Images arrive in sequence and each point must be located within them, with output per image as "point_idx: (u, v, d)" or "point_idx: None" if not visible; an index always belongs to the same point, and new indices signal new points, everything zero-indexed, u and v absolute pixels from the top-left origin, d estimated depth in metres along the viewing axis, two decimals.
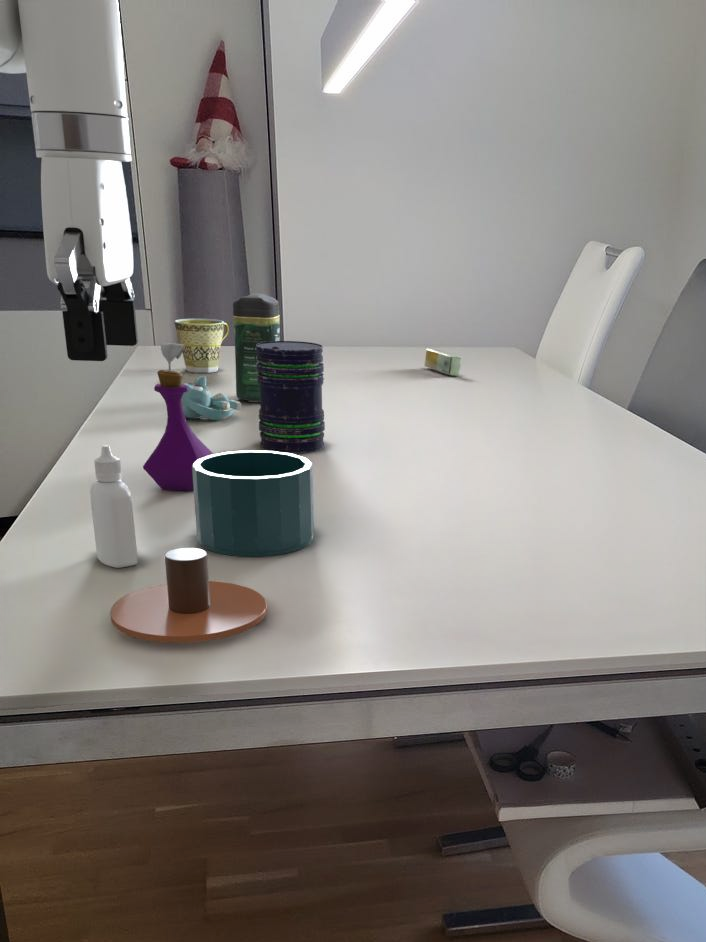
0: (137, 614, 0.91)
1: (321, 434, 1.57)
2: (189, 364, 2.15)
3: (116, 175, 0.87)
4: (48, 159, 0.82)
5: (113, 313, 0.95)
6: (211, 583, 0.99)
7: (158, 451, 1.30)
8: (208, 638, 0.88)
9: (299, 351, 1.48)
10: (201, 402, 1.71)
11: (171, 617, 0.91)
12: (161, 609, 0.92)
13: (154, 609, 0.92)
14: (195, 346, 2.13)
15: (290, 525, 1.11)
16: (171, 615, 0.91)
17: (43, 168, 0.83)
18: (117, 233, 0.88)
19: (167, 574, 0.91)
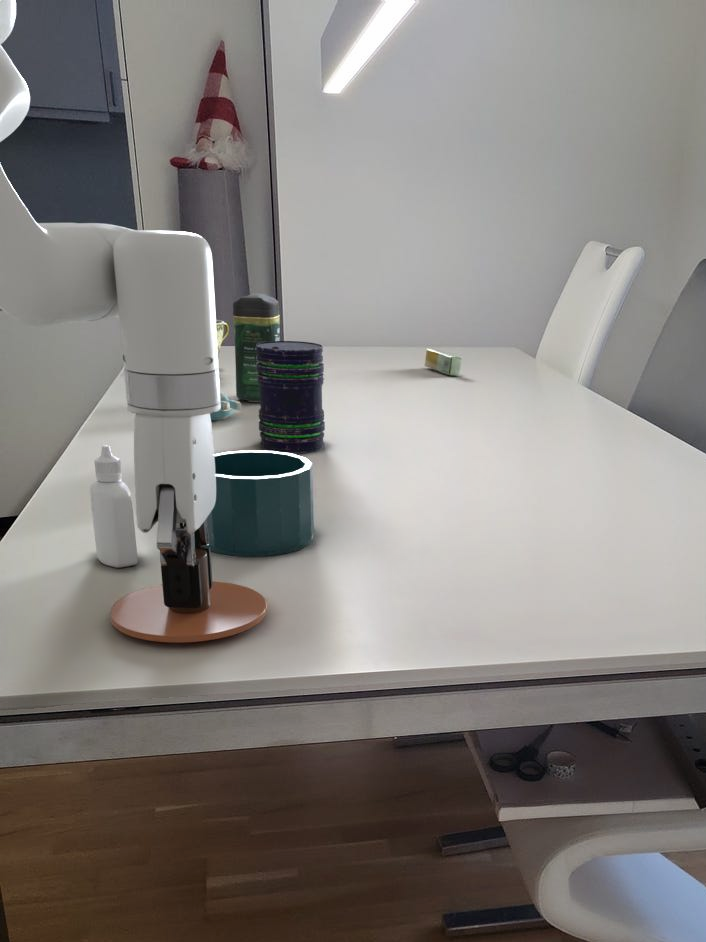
0: (137, 614, 0.91)
1: (321, 434, 1.57)
2: None
3: (206, 422, 0.86)
4: (142, 419, 0.82)
5: None
6: None
7: None
8: (208, 638, 0.88)
9: (299, 351, 1.48)
10: None
11: (171, 617, 0.91)
12: (161, 609, 0.92)
13: (154, 609, 0.92)
14: None
15: (290, 525, 1.11)
16: (171, 615, 0.91)
17: (137, 427, 0.82)
18: (205, 478, 0.87)
19: None
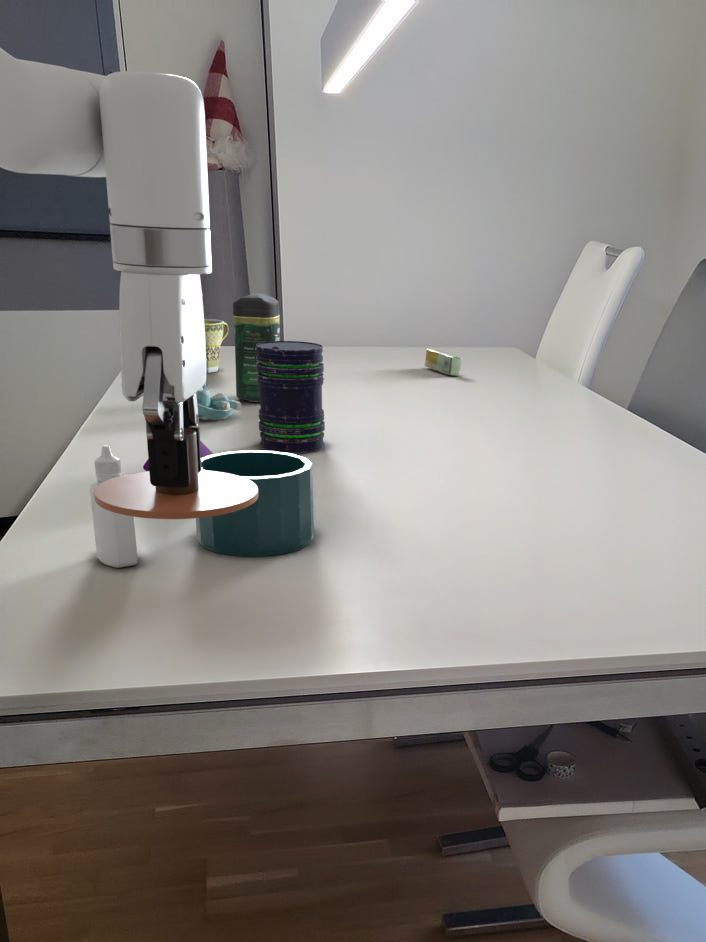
0: (122, 493, 0.87)
1: (321, 434, 1.57)
2: None
3: (196, 287, 0.82)
4: (128, 276, 0.78)
5: None
6: (201, 472, 0.94)
7: None
8: (196, 516, 0.84)
9: (299, 351, 1.48)
10: (201, 402, 1.71)
11: (158, 497, 0.86)
12: (147, 490, 0.88)
13: (140, 490, 0.88)
14: None
15: (290, 525, 1.11)
16: (158, 495, 0.87)
17: (122, 284, 0.78)
18: (195, 347, 0.83)
19: None
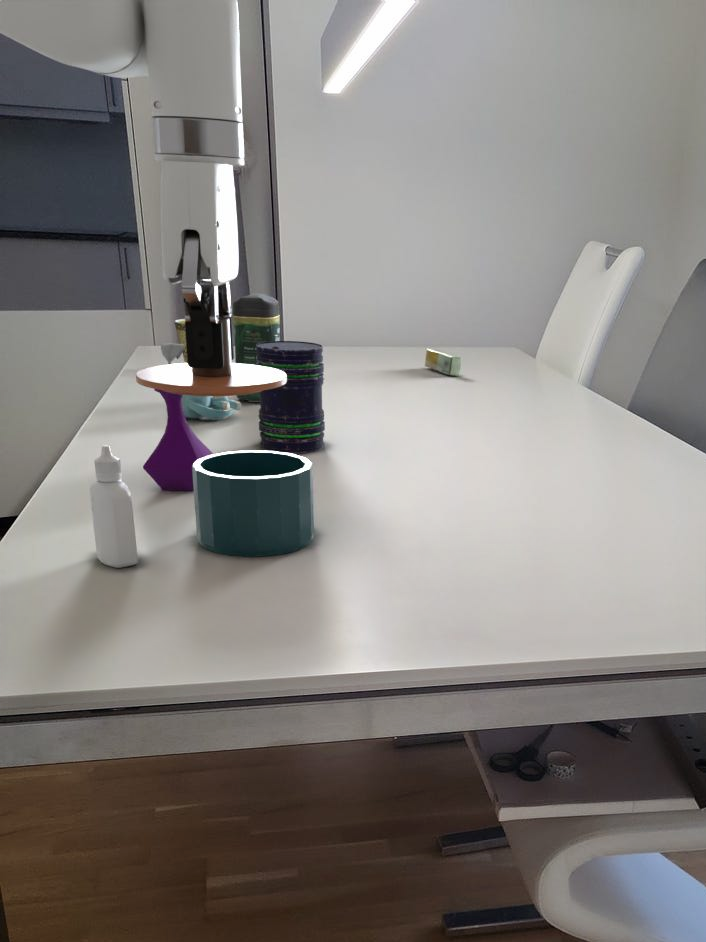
0: (162, 375, 0.94)
1: (321, 434, 1.57)
2: None
3: (229, 178, 0.89)
4: (169, 163, 0.85)
5: None
6: (233, 364, 1.01)
7: (158, 451, 1.30)
8: (230, 391, 0.91)
9: (299, 351, 1.48)
10: (201, 402, 1.71)
11: (194, 378, 0.93)
12: (185, 374, 0.95)
13: (178, 374, 0.95)
14: None
15: (290, 525, 1.11)
16: (194, 377, 0.94)
17: (163, 171, 0.85)
18: (229, 235, 0.90)
19: None
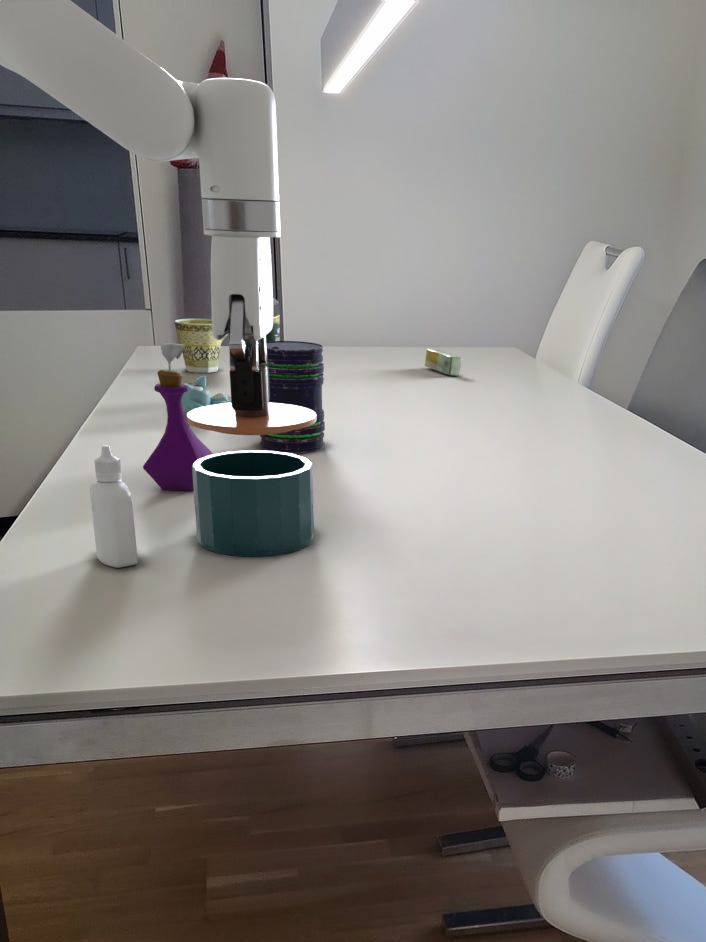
0: (209, 416, 1.08)
1: (321, 434, 1.57)
2: (189, 364, 2.15)
3: (268, 248, 1.04)
4: (218, 238, 0.99)
5: None
6: None
7: (158, 451, 1.30)
8: (270, 430, 1.05)
9: (299, 351, 1.48)
10: (201, 402, 1.71)
11: (238, 418, 1.08)
12: (228, 415, 1.09)
13: (222, 415, 1.09)
14: (195, 346, 2.13)
15: (290, 525, 1.11)
16: (237, 418, 1.08)
17: (213, 245, 1.00)
18: (267, 296, 1.04)
19: None
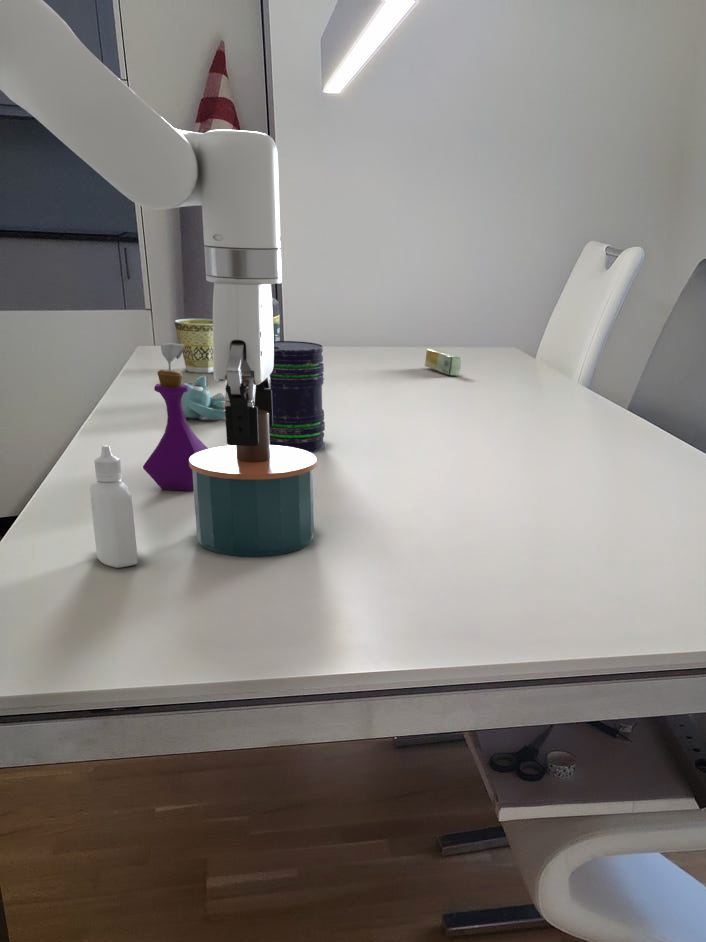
0: (211, 461, 1.10)
1: (321, 434, 1.57)
2: (189, 364, 2.15)
3: (269, 294, 1.05)
4: (220, 285, 1.01)
5: (254, 400, 1.14)
6: None
7: (158, 451, 1.30)
8: (272, 477, 1.07)
9: (299, 351, 1.48)
10: (201, 402, 1.71)
11: (239, 464, 1.10)
12: (230, 459, 1.11)
13: (224, 459, 1.11)
14: (195, 346, 2.13)
15: (290, 525, 1.11)
16: (239, 463, 1.10)
17: (215, 292, 1.01)
18: (268, 340, 1.06)
19: None
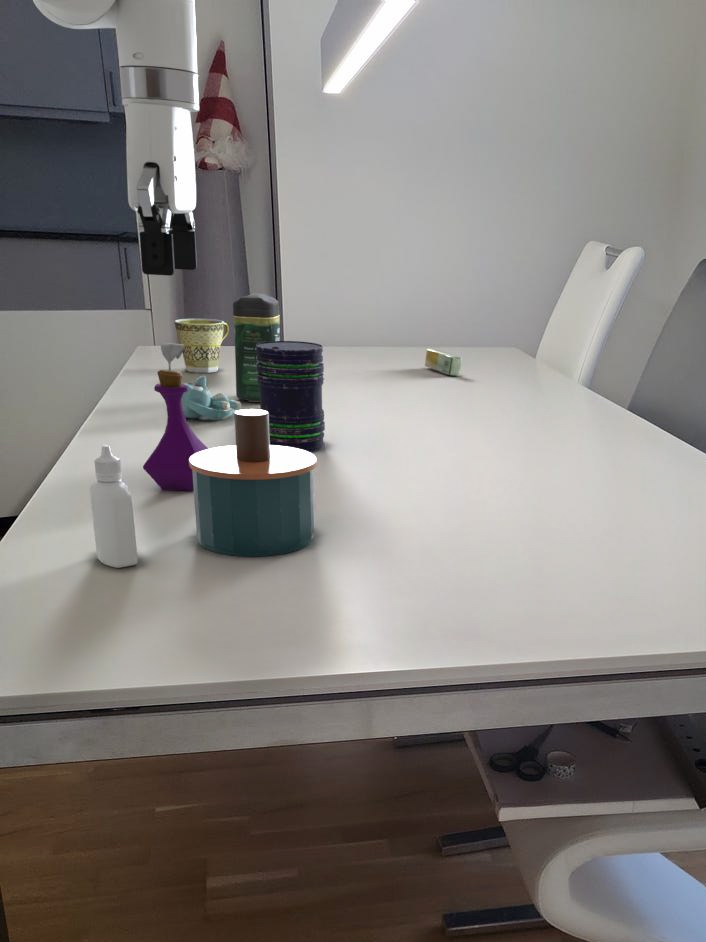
0: (211, 461, 1.10)
1: (321, 434, 1.57)
2: (189, 364, 2.15)
3: (186, 121, 1.05)
4: (133, 105, 1.01)
5: (177, 241, 1.14)
6: None
7: (158, 451, 1.30)
8: (272, 477, 1.07)
9: (299, 351, 1.48)
10: (201, 402, 1.71)
11: (239, 464, 1.10)
12: (230, 459, 1.11)
13: (224, 459, 1.11)
14: (195, 346, 2.13)
15: (290, 525, 1.11)
16: (239, 463, 1.10)
17: (129, 112, 1.01)
18: (185, 170, 1.06)
19: (236, 428, 1.10)
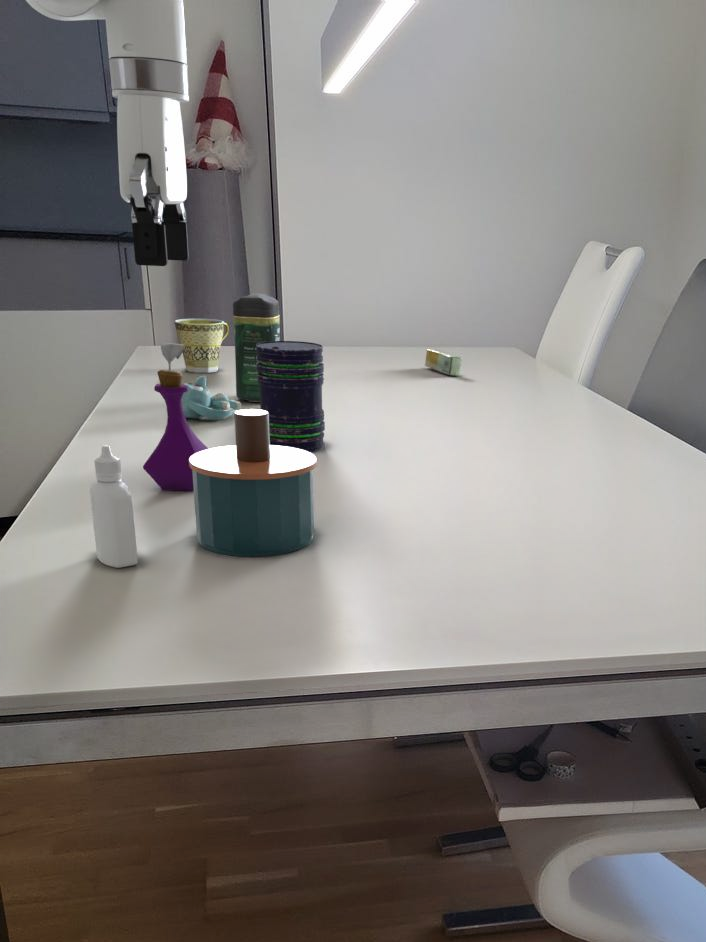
0: (211, 461, 1.10)
1: (321, 434, 1.57)
2: (189, 364, 2.15)
3: (176, 112, 1.06)
4: (124, 96, 1.01)
5: (169, 232, 1.14)
6: None
7: (158, 451, 1.30)
8: (272, 477, 1.07)
9: (299, 351, 1.48)
10: (201, 402, 1.71)
11: (239, 464, 1.10)
12: (230, 459, 1.11)
13: (224, 459, 1.11)
14: (195, 346, 2.13)
15: (290, 525, 1.11)
16: (239, 463, 1.10)
17: (119, 104, 1.02)
18: (176, 160, 1.06)
19: (236, 428, 1.10)
